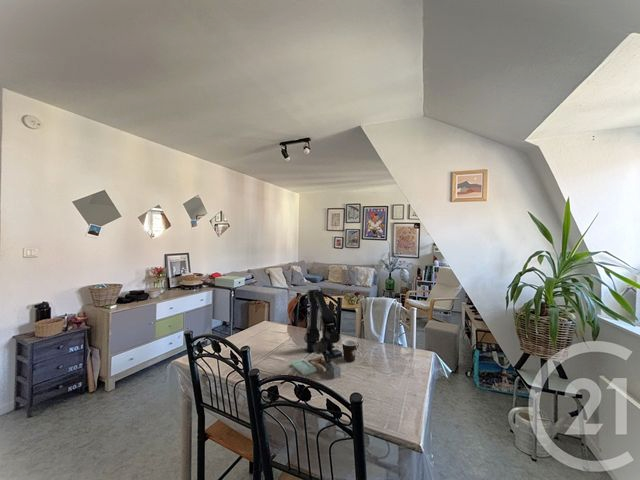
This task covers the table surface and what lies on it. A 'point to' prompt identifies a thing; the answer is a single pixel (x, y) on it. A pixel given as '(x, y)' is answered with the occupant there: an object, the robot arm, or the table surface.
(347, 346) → the coffee mug
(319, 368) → the socket
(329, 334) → the robot arm
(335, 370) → the grey rectangular block
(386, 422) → the table surface
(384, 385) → the table surface
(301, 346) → the table surface
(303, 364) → the pale teal tray
